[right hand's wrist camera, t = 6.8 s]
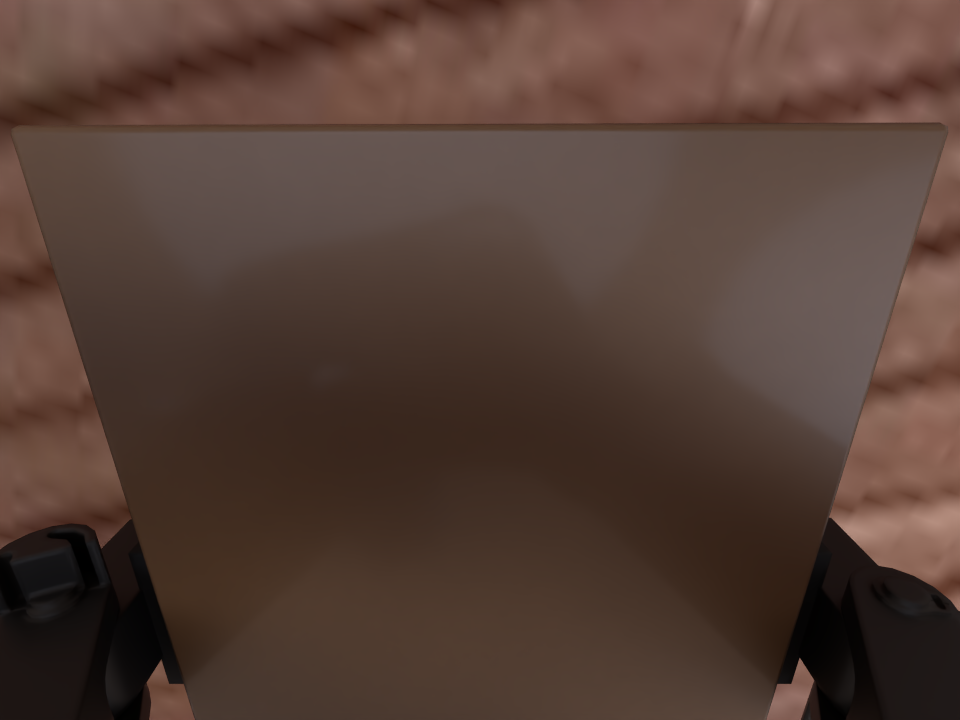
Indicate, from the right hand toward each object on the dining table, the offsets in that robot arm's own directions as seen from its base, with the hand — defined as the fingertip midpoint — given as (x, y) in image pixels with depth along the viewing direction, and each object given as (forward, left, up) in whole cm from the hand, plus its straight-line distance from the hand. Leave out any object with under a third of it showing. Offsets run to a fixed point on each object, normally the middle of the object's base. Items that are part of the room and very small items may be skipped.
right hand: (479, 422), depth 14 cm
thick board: (+14, -25, -1) cm, 29 cm away
